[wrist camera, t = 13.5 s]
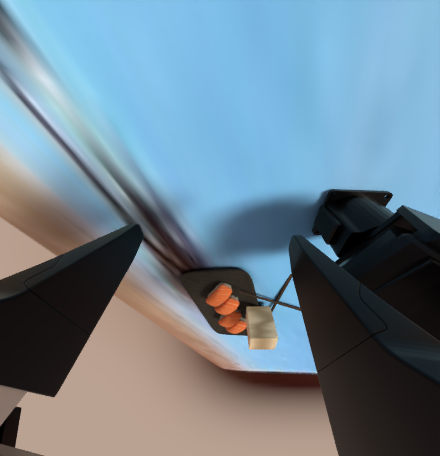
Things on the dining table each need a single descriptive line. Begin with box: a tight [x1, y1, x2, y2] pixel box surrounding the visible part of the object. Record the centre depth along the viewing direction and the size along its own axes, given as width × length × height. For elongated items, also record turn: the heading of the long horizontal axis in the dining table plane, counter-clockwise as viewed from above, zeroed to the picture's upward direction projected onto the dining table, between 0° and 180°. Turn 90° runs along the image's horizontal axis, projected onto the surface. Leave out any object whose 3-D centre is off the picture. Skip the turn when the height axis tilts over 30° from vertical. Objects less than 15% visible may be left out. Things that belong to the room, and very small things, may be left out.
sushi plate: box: [181, 269, 301, 336], centre depth 35 cm, size 29×30×4 cm
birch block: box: [246, 306, 278, 349], centre depth 33 cm, size 5×5×6 cm
